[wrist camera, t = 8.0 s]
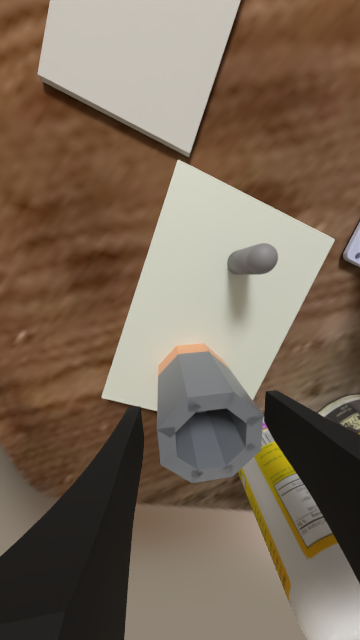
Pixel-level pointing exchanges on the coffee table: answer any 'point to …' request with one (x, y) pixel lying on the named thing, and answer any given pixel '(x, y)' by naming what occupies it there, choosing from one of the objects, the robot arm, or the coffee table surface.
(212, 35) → the pad
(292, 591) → the supplement bottle
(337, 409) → the coffee can
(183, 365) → the sleeve
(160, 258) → the pin board
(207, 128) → the coffee table surface
